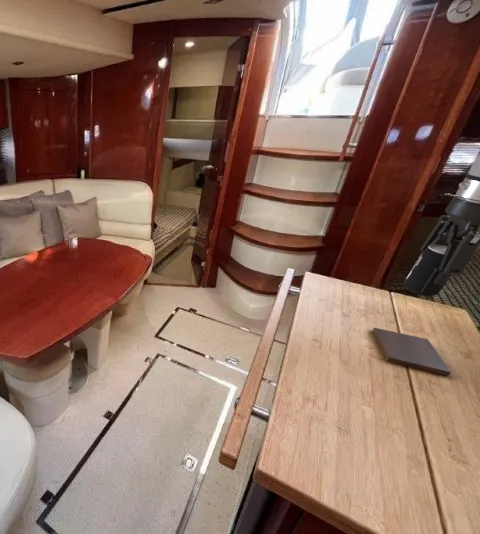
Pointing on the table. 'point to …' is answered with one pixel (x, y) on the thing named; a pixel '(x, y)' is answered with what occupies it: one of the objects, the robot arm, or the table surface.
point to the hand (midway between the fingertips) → (422, 285)
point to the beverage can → (425, 269)
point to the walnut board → (410, 351)
